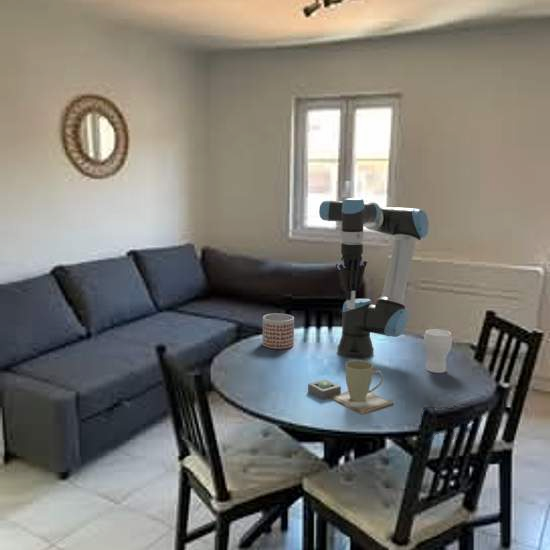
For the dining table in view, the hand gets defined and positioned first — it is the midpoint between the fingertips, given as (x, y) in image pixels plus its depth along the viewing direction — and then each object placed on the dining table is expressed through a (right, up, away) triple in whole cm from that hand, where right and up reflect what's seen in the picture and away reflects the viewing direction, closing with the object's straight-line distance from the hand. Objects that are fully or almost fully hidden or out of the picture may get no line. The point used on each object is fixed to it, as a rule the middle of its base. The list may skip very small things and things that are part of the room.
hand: (350, 308), depth 204 cm
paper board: (+2, -30, -13) cm, 33 cm away
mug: (+2, -30, -13) cm, 33 cm away
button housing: (-10, -29, -7) cm, 32 cm away
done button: (-10, -28, -7) cm, 31 cm away
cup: (+36, -25, +18) cm, 47 cm away
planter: (-26, -19, +47) cm, 57 cm away
